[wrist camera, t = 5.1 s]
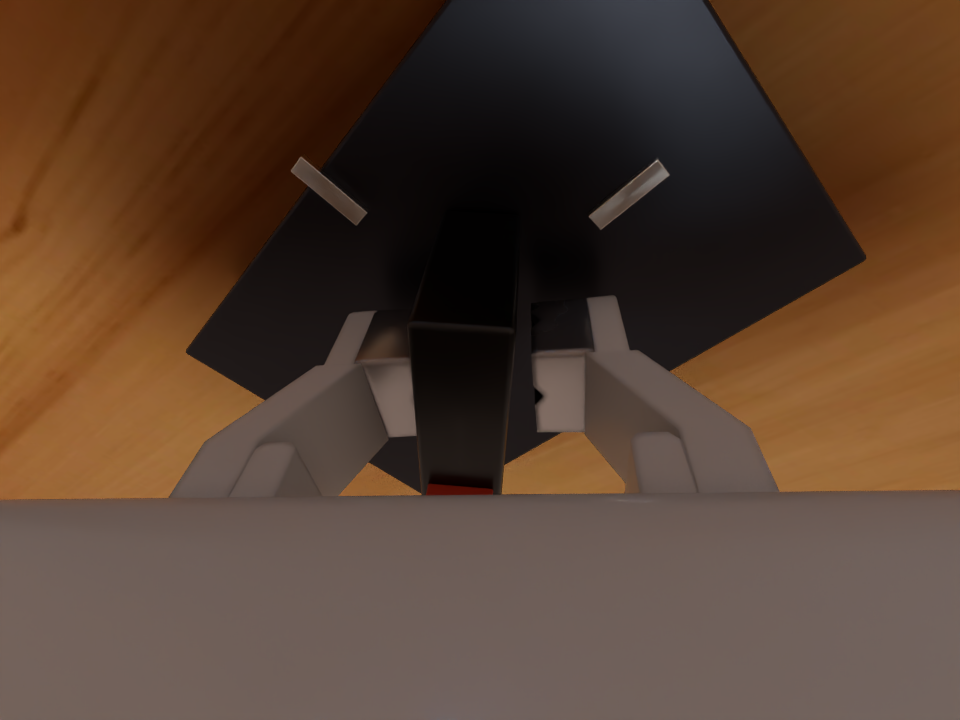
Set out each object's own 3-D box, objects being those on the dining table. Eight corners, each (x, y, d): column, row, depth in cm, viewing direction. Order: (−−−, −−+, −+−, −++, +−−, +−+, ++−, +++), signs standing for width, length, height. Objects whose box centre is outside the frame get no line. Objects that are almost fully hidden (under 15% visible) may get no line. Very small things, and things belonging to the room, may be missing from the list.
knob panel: (559, -178, 8) (571, -230, 5) (807, 205, 11) (881, 277, 9) (228, 278, 14) (165, 348, 11) (457, 435, 17) (445, 514, 15)
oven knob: (443, 208, 9) (401, 335, 6) (521, 213, 9) (516, 342, 6) (447, 389, 12) (420, 533, 9) (506, 394, 12) (497, 539, 9)
